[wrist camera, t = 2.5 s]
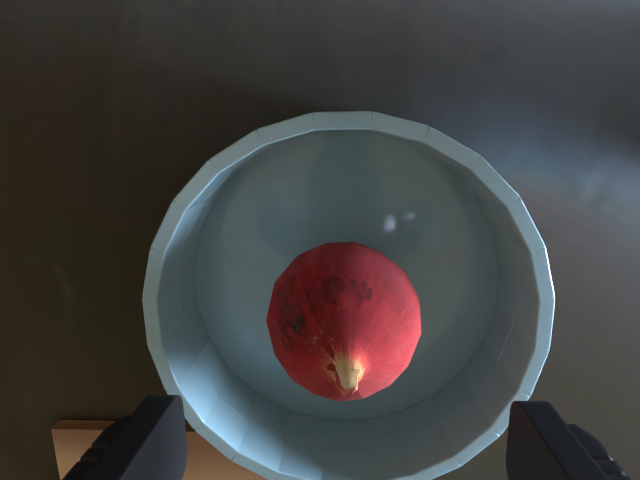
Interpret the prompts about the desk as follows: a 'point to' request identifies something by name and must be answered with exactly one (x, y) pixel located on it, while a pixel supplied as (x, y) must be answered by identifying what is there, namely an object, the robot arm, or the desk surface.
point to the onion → (344, 320)
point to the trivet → (202, 458)
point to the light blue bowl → (375, 232)
